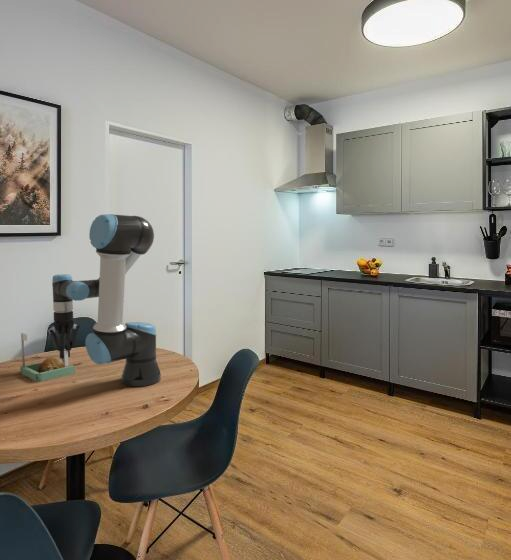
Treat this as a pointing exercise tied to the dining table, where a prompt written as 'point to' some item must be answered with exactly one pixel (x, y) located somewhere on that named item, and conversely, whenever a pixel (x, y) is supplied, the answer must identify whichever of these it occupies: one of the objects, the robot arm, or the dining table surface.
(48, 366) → the bread roll
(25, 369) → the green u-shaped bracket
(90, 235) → the robot arm
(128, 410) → the dining table surface
